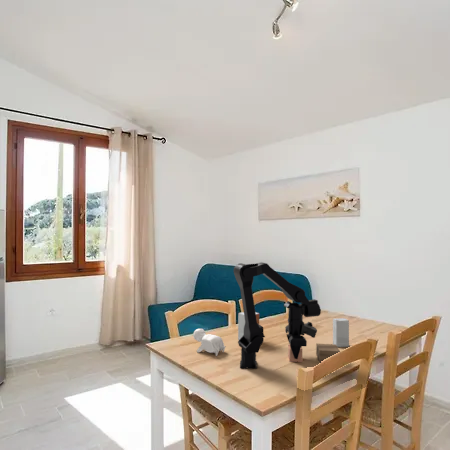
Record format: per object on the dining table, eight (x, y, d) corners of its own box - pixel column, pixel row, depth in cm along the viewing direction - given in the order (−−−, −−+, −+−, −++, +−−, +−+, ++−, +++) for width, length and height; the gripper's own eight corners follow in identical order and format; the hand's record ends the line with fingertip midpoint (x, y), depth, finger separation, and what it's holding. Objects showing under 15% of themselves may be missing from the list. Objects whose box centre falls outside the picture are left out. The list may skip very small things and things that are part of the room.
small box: (245, 344, 155) (246, 315, 155) (237, 340, 161) (237, 312, 161) (259, 340, 160) (259, 313, 160) (251, 337, 165) (251, 310, 165)
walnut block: (339, 364, 134) (340, 351, 134) (319, 362, 135) (319, 350, 135) (335, 356, 142) (335, 344, 142) (316, 355, 143) (316, 343, 143)
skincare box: (344, 343, 157) (345, 317, 157) (349, 347, 152) (349, 320, 152) (332, 344, 156) (332, 317, 156) (336, 347, 152) (336, 320, 152)
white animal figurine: (223, 357, 147) (197, 338, 155) (229, 340, 145) (203, 322, 153) (211, 363, 140) (185, 343, 148) (218, 346, 138) (191, 327, 146)
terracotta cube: (302, 361, 135) (302, 349, 135) (289, 361, 136) (289, 348, 136) (300, 357, 140) (300, 345, 140) (288, 356, 141) (288, 344, 141)
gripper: (320, 325, 128) (320, 366, 128) (311, 312, 147) (311, 348, 147) (290, 324, 129) (290, 365, 129) (285, 312, 147) (285, 347, 147)
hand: (295, 356), depth 138 cm, fingers closed on terracotta cube, 5 cm apart
